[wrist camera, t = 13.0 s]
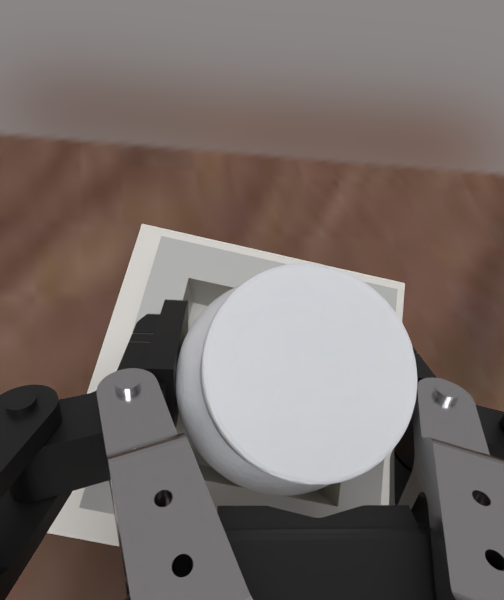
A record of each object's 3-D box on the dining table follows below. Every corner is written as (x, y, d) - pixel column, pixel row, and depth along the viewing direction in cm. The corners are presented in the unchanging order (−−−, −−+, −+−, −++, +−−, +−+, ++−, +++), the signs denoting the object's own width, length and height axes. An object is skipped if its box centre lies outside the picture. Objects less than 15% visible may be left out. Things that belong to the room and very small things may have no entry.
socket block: (395, 289, 20) (444, 256, 16) (372, 585, 16) (430, 648, 12) (145, 232, 20) (127, 183, 16) (52, 524, 16) (-9, 567, 11)
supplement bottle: (296, 319, 17) (397, 207, 8) (330, 441, 16) (506, 480, 6) (178, 346, 16) (134, 253, 7) (204, 477, 15) (193, 586, 5)
